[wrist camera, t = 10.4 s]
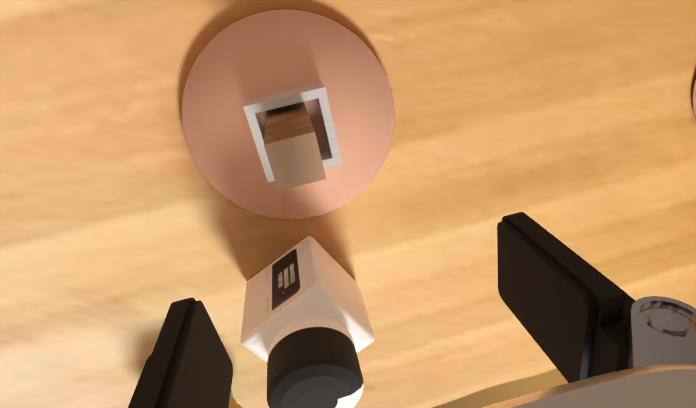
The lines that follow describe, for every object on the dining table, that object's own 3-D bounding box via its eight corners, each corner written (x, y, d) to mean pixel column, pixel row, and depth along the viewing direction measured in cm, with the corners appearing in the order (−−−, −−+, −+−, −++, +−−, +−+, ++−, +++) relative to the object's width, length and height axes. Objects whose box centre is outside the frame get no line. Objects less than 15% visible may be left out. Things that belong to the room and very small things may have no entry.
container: (244, 281, 35) (230, 408, 24) (309, 232, 34) (328, 340, 23) (298, 326, 39) (308, 455, 27) (358, 283, 38) (396, 399, 26)
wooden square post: (303, 100, 28) (314, 132, 20) (312, 136, 29) (326, 179, 22) (266, 109, 28) (263, 144, 20) (277, 144, 29) (278, 191, 21)
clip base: (374, -14, 26) (388, -18, 23) (403, 189, 34) (417, 206, 31) (145, 38, 25) (127, 40, 22) (227, 235, 33) (222, 258, 30)
